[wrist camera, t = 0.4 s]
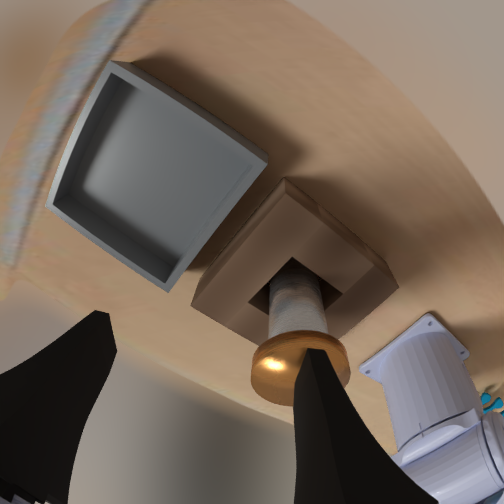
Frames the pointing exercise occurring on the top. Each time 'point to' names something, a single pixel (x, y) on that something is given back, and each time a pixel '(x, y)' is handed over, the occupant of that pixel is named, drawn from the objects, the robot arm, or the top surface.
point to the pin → (294, 334)
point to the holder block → (278, 253)
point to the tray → (150, 173)
